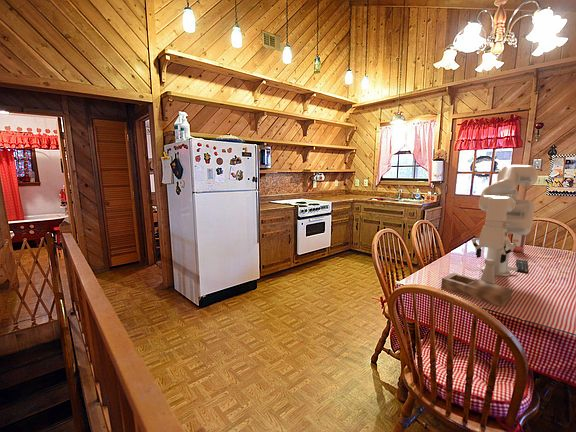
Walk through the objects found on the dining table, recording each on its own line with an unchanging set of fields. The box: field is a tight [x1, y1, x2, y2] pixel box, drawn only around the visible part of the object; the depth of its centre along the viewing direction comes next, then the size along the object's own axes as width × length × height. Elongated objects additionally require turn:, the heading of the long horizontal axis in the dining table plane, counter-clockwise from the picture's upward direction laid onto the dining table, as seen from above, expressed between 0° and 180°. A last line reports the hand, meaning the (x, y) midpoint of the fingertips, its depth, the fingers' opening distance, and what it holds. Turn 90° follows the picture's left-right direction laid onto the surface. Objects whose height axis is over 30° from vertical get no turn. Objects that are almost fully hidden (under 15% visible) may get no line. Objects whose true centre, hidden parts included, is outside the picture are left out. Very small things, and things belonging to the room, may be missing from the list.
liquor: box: [512, 234, 527, 254], centre depth 192 cm, size 7×7×28 cm
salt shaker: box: [479, 258, 496, 284], centre depth 138 cm, size 6×6×13 cm
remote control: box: [515, 258, 530, 274], centre depth 166 cm, size 5×24×1 cm, turn 142°
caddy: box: [440, 272, 514, 308], centre depth 130 cm, size 24×12×4 cm, turn 37°
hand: (490, 259), depth 136 cm, fingers open, 9 cm apart
